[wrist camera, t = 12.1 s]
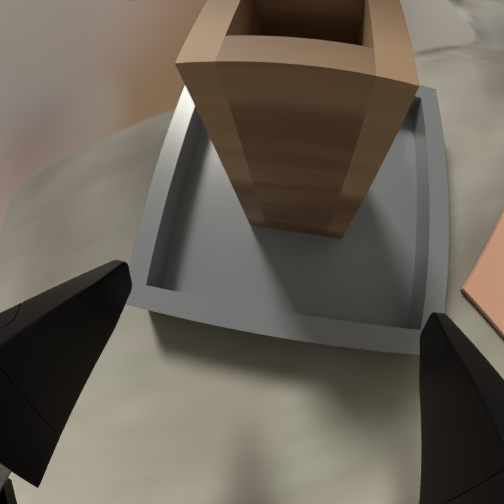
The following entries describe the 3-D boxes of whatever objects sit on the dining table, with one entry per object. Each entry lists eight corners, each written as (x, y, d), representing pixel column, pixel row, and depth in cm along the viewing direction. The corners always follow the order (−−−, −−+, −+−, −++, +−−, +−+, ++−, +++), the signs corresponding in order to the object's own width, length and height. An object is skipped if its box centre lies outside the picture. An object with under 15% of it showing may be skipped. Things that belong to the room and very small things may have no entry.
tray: (415, 351, 16) (437, 356, 13) (146, 306, 18) (121, 303, 15) (422, 114, 19) (435, 89, 16) (205, 88, 21) (195, 61, 18)
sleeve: (341, 238, 16) (419, 86, 5) (250, 225, 17) (175, 63, 6) (350, 133, 18) (385, -40, 6) (270, 122, 19) (240, -51, 7)
